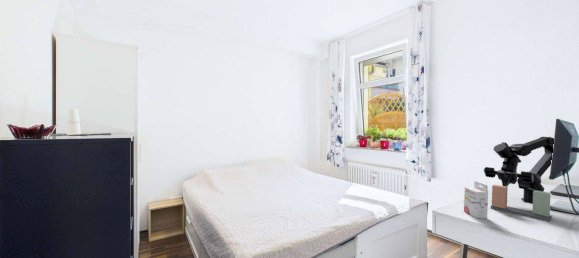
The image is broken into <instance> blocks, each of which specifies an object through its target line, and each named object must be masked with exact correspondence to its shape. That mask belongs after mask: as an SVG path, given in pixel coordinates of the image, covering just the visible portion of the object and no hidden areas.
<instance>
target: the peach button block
mask: <svg viewBox="0 0 579 258" xmlns="http://www.w3.org/2000/svg"><path fill="white" fill-rule="evenodd" d="M491 188H492V189H491V190H492V191H491V205H492V206H495V207H500V208H504V209H505V208H507V206H508V189H509V188H508V186H507V187H506V186H503V185H500V184H492V186H491Z"/></svg>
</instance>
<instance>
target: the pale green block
mask: <svg viewBox="0 0 579 258" xmlns="http://www.w3.org/2000/svg"><path fill="white" fill-rule="evenodd" d="M551 195H552V194H551V192H549V191H544V192H543V191H537V190H534V191H533V203H532V210H531V211H532V213H533V214H538V215H542V216H547V217H549V215H550V213H551Z"/></svg>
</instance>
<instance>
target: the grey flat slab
mask: <svg viewBox="0 0 579 258" xmlns="http://www.w3.org/2000/svg"><path fill="white" fill-rule="evenodd" d="M490 209H493V210H497V211H501V212H504V213H505V212H506V213H511V214H514V215H518V216H523V217H527V218H531V219H537V220H541V221H545V222H550V221H551V220H552V219H551V218H553V217H552V215H549V217H547V216H542V215H538V214H533V213H532V210H527V209H522V208H517V207H514V206H508V205H507V208H505V209H504V208H500V207H495V206H492V204H491V205H490Z"/></svg>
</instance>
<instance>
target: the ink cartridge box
mask: <svg viewBox="0 0 579 258" xmlns="http://www.w3.org/2000/svg"><path fill="white" fill-rule="evenodd" d="M473 183H474V187H471V186H470V187H469V186H465V187H464V195H463V197H464V199H463V201H464V202H463V212H464V211H465V213H466V214H468V215H470V216H471V217H474V218H475V217H476V218H475V219H488V209H489V206H488V205H489V202H488V201H489V191H488V190H489V189H488V188H489V187H488V185H487V184H484V183H482V182H478V181H476V180H474V181H473Z"/></svg>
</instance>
